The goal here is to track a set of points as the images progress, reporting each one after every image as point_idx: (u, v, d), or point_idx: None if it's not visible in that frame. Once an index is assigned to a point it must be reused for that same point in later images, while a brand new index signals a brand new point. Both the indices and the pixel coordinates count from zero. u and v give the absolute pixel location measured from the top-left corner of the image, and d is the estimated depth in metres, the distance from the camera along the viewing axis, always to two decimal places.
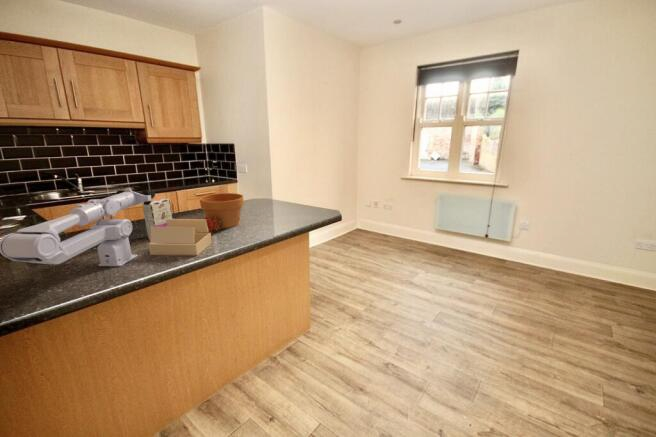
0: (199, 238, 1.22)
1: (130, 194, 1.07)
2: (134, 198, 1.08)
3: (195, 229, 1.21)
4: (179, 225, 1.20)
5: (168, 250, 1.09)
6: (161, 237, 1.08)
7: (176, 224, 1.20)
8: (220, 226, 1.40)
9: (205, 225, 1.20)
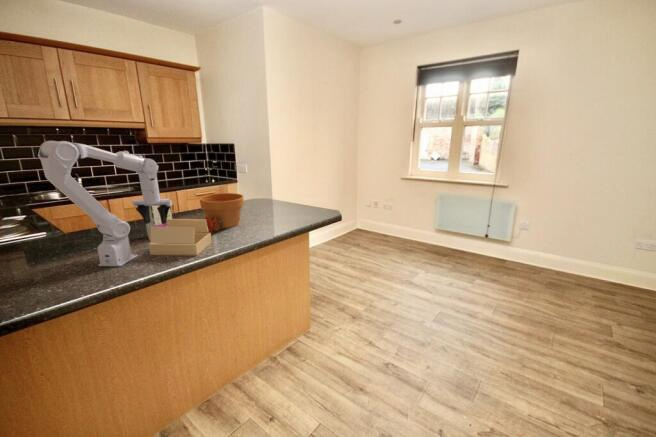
0: (199, 238, 1.22)
1: None
2: (159, 197, 1.12)
3: (195, 229, 1.21)
4: (179, 225, 1.20)
5: (168, 250, 1.09)
6: (161, 237, 1.08)
7: (176, 224, 1.20)
8: (220, 226, 1.40)
9: (205, 225, 1.20)
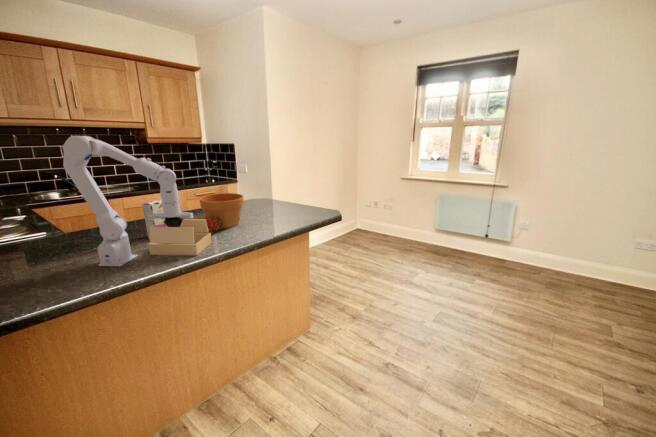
0: (199, 238, 1.22)
1: None
2: (180, 210, 1.08)
3: (195, 229, 1.21)
4: None
5: (168, 250, 1.09)
6: (161, 237, 1.08)
7: None
8: (220, 226, 1.40)
9: (205, 225, 1.20)
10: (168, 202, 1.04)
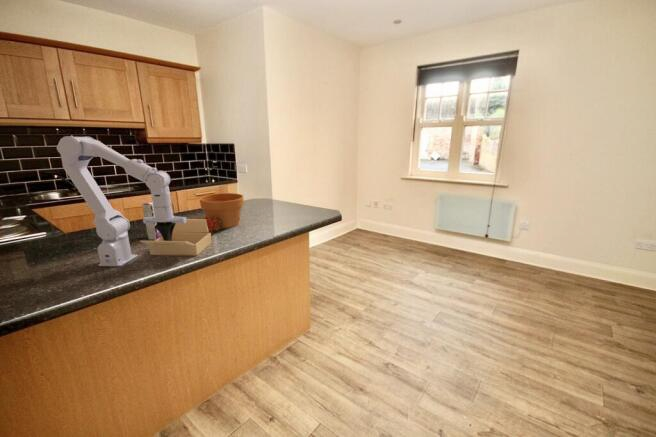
0: (199, 238, 1.22)
1: None
2: (172, 214, 1.03)
3: (195, 229, 1.21)
4: (179, 225, 1.20)
5: (168, 250, 1.09)
6: (158, 243, 1.06)
7: (176, 224, 1.20)
8: (220, 226, 1.40)
9: (205, 225, 1.20)
10: (157, 206, 0.99)
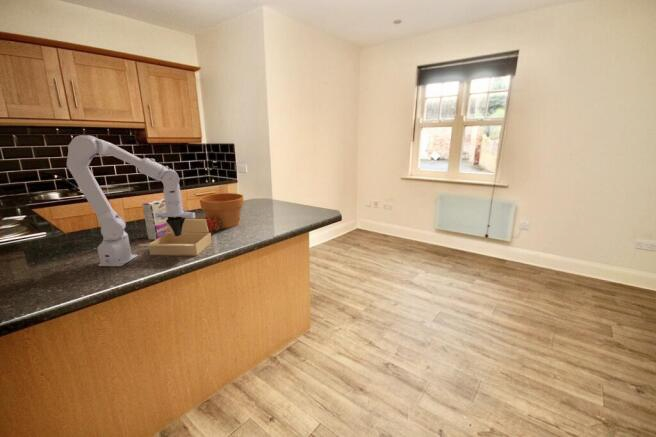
0: (199, 238, 1.22)
1: None
2: (182, 209, 1.10)
3: (195, 229, 1.21)
4: None
5: (168, 250, 1.09)
6: None
7: None
8: (220, 226, 1.40)
9: (205, 225, 1.20)
10: (172, 202, 1.06)
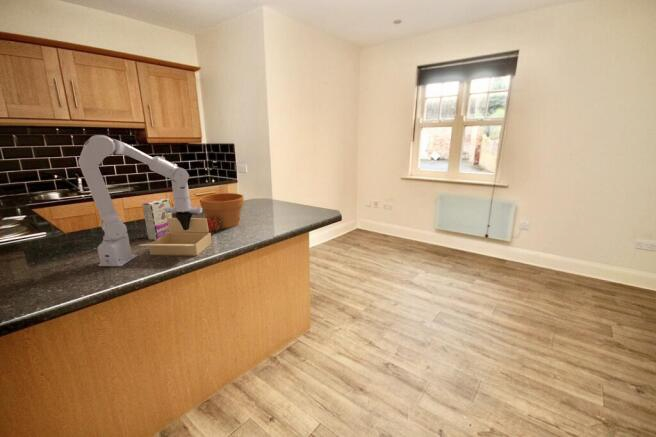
0: (199, 238, 1.22)
1: None
2: (190, 205, 1.16)
3: (195, 229, 1.21)
4: (180, 224, 1.20)
5: (168, 250, 1.09)
6: (158, 245, 1.06)
7: (176, 224, 1.20)
8: (220, 226, 1.40)
9: (206, 224, 1.20)
10: (182, 197, 1.13)
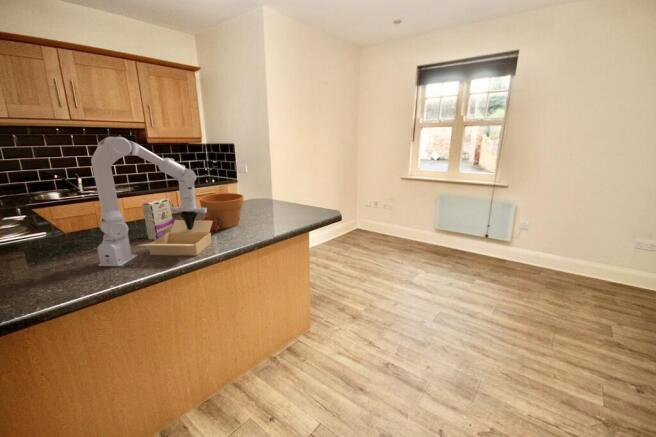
0: (199, 238, 1.22)
1: None
2: (195, 205, 1.21)
3: (197, 229, 1.23)
4: (184, 225, 1.24)
5: (168, 250, 1.09)
6: (158, 245, 1.06)
7: (181, 225, 1.24)
8: (220, 226, 1.40)
9: (209, 225, 1.24)
10: (189, 197, 1.17)
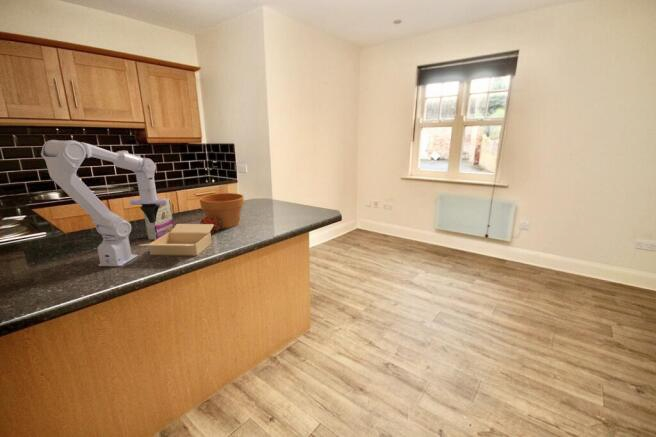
0: (199, 238, 1.22)
1: None
2: (156, 197, 1.13)
3: (197, 230, 1.23)
4: (185, 227, 1.25)
5: (168, 250, 1.09)
6: (158, 245, 1.06)
7: (182, 227, 1.25)
8: (220, 226, 1.40)
9: (210, 227, 1.25)
10: (151, 188, 1.11)
